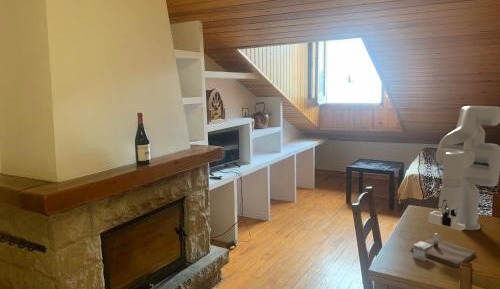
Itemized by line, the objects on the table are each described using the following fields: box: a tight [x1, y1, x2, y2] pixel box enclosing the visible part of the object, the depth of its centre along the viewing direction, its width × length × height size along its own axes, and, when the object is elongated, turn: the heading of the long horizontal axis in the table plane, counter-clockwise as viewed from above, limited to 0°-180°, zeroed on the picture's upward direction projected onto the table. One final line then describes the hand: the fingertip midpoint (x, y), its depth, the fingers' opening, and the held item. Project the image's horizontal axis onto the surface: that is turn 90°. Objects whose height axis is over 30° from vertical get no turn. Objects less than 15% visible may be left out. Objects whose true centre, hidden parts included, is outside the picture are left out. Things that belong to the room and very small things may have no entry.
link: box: [427, 210, 466, 232], centre depth 160 cm, size 13×5×4 cm, turn 38°
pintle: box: [433, 233, 440, 247], centre depth 165 cm, size 2×2×6 cm
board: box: [410, 236, 477, 268], centre depth 163 cm, size 17×19×2 cm
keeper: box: [412, 240, 433, 262], centre depth 159 cm, size 6×5×6 cm
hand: (448, 223), depth 160 cm, fingers closed on link, 4 cm apart
